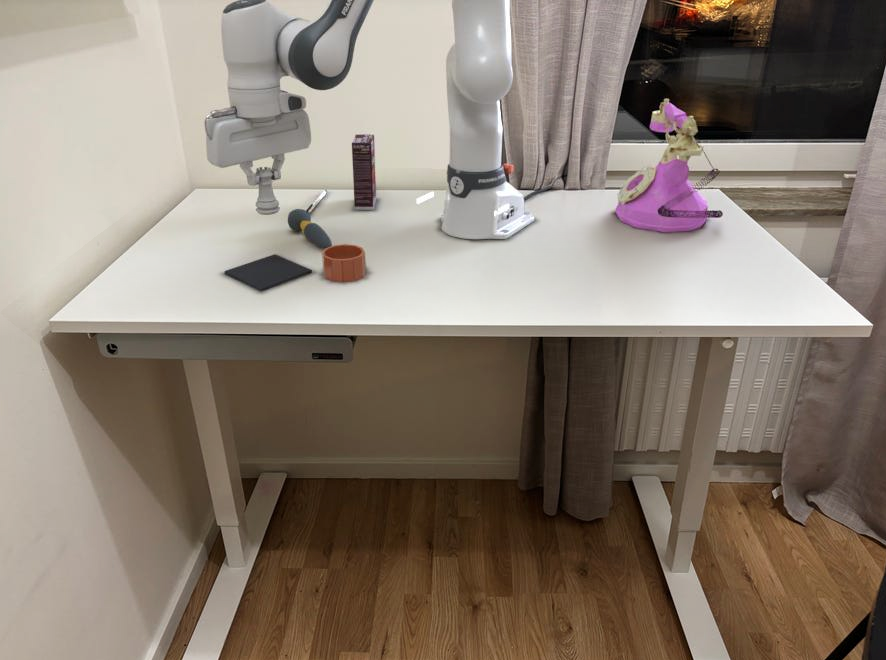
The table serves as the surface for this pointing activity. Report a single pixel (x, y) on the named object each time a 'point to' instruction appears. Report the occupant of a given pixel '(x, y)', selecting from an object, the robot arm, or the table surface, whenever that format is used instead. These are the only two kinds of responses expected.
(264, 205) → the rook chess piece
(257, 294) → the table surface
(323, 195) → the pen
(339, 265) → the brown hollow cylinder
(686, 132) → the telephone
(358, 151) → the supplement box
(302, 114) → the robot arm
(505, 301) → the table surface
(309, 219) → the paintbrush
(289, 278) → the pad
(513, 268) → the table surface
